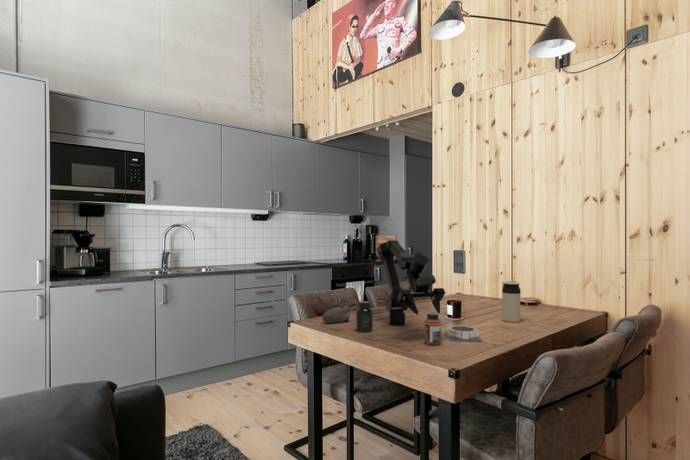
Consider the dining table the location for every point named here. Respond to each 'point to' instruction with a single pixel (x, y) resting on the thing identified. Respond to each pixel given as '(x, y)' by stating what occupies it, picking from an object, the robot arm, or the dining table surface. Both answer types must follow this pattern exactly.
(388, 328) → the dining table surface
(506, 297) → the travel mug
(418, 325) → the dining table surface
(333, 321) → the perforated stone tool
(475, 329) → the collar
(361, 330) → the supplement bottle
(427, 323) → the supplement bottle
